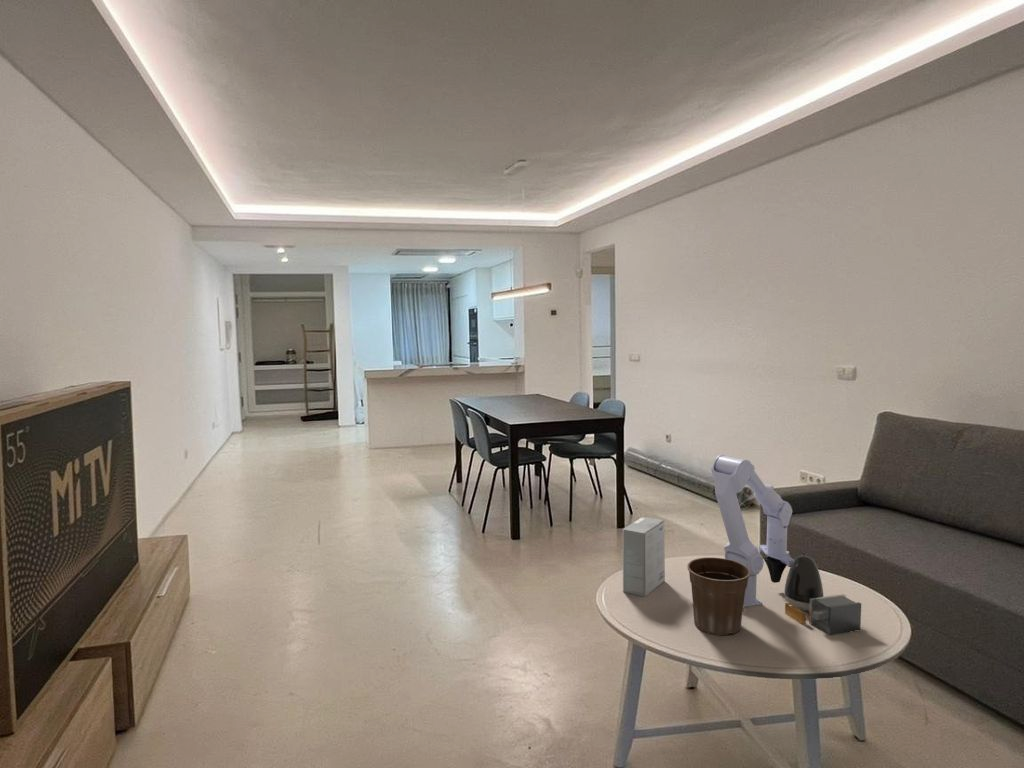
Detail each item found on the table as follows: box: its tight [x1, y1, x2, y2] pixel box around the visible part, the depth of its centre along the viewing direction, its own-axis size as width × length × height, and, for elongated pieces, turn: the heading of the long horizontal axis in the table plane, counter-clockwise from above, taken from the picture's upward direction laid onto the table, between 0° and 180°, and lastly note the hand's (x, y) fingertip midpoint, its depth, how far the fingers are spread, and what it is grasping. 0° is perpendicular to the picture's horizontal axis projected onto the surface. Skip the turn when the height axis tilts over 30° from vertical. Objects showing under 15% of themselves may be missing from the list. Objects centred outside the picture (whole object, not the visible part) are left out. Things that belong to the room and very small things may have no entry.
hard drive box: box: [622, 516, 666, 598], centre depth 201 cm, size 16×8×20 cm, turn 144°
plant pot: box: [686, 556, 750, 636], centre depth 174 cm, size 16×16×16 cm
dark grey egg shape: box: [784, 552, 824, 612], centre depth 185 cm, size 10×10×15 cm
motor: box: [784, 593, 862, 636], centre depth 177 cm, size 15×14×7 cm
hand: (775, 581), depth 198 cm, fingers closed
